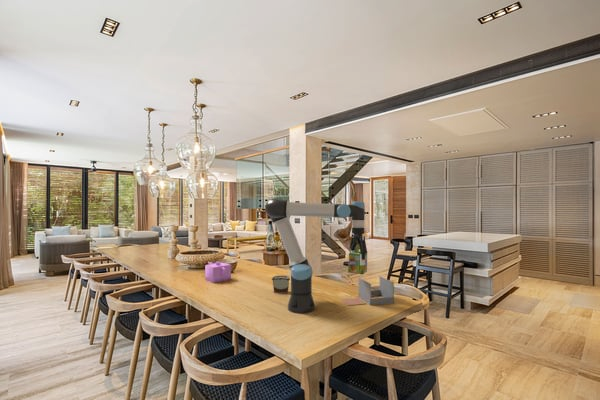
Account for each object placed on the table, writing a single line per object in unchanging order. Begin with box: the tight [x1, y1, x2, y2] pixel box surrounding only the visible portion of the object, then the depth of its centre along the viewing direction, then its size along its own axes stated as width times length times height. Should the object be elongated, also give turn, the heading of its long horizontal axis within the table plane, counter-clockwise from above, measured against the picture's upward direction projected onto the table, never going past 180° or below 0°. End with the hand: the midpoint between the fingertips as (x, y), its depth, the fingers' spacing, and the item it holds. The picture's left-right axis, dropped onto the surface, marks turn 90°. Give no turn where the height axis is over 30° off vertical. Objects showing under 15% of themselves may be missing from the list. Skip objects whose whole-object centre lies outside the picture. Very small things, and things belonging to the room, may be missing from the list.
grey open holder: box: [357, 275, 395, 306], centre depth 181 cm, size 15×16×12 cm
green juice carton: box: [347, 246, 368, 275], centre depth 178 cm, size 9×9×15 cm
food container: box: [271, 275, 291, 294], centre depth 201 cm, size 12×6×10 cm, turn 84°
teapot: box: [204, 261, 232, 284], centre depth 235 cm, size 15×25×14 cm, turn 43°
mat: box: [341, 297, 367, 307], centre depth 177 cm, size 11×11×1 cm
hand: (357, 263), depth 178 cm, fingers closed on green juice carton, 12 cm apart
